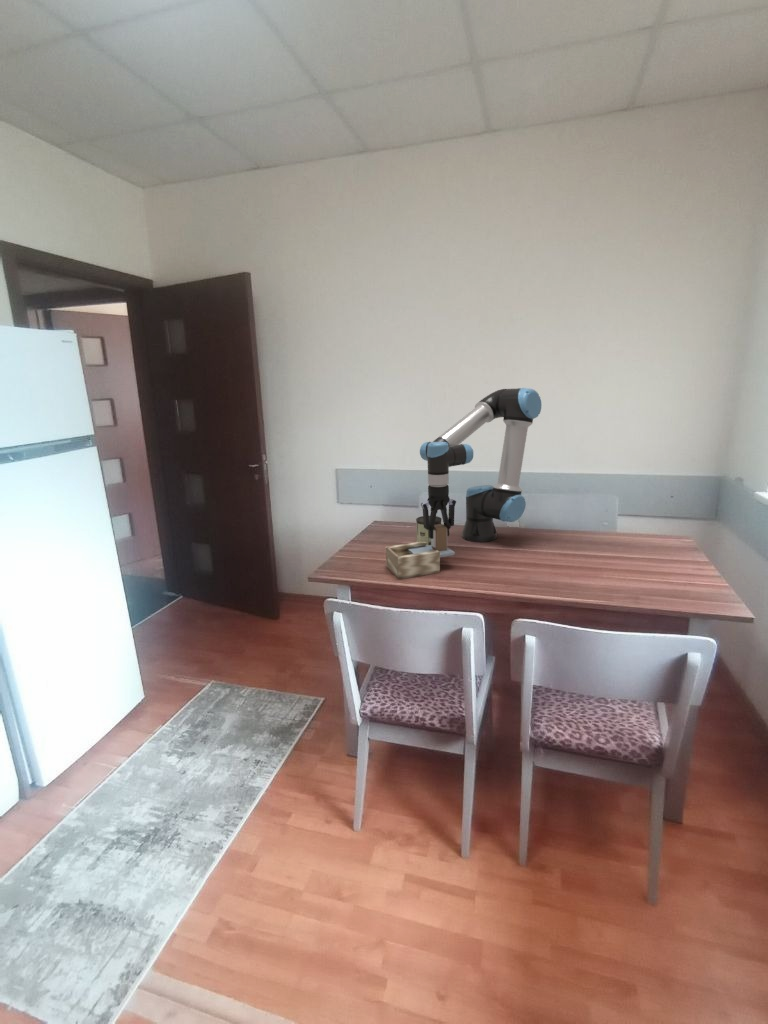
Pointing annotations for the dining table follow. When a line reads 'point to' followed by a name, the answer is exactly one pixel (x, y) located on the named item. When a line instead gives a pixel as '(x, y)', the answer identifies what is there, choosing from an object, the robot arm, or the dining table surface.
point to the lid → (440, 543)
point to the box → (411, 561)
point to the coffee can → (424, 530)
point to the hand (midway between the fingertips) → (439, 545)
